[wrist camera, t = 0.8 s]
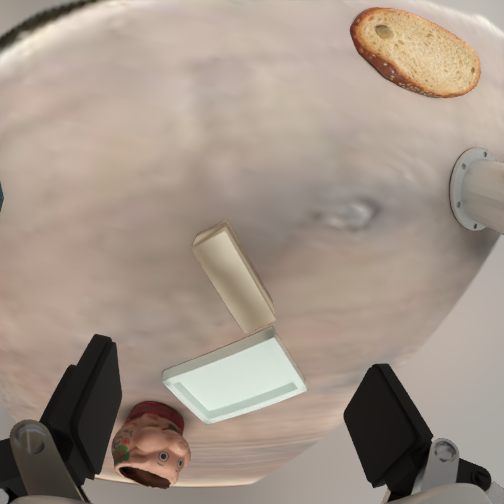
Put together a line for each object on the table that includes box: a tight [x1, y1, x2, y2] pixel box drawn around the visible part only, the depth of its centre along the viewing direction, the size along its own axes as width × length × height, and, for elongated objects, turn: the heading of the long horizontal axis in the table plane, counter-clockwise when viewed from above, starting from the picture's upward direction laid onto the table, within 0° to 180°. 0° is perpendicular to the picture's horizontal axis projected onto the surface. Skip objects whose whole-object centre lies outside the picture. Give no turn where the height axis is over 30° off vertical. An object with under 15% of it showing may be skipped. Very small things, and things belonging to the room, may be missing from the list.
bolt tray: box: [161, 327, 308, 425], centre depth 41 cm, size 18×12×2 cm
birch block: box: [191, 219, 276, 334], centre depth 34 cm, size 4×12×5 cm, turn 27°
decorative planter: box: [112, 402, 191, 489], centre depth 40 cm, size 20×12×14 cm, turn 136°
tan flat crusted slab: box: [350, 7, 481, 98], centre depth 25 cm, size 18×18×4 cm
